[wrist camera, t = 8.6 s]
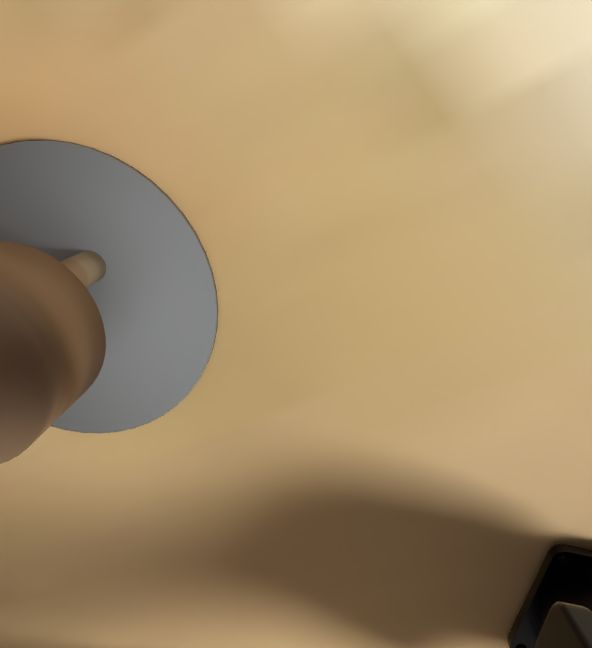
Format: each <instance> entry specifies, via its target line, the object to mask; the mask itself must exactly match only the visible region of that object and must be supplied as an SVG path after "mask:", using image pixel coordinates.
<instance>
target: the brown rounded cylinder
mask: <svg viewBox="0 0 592 648" xmlns="http://www.w3.org/2000/svg"><path fill="white" fill-rule="evenodd" d="M105 273H106V264H105V262H104V260H103V258H102V257H101V256H100V255H99V254H97V253H96V252H93V251H83V252H81V253H79V254H76V255H74V256H72V257H70V258H67V259H65V260H63V261H60V262H59V261H58V260H56V259H55V258H54V257H52V256H50V255H48V254H46V253H45V252H43V251H41V250H38V249H36V248H33V247H31V246H28V245H24V244H20V243H16V242H8V241H0V464H1V463H3V462H6V461H9V460H11V459H13V458H14V457H16V456H18V455H19V454H21V453H22V452H23V451H25V450H26V449H27V448H28V447H29V446H30V445H31V444H32V443H33V442H34V441H35V440H36V439H37V438H38V437H39V436H40V435H41V434H42V433H43V432H45V431H46V430H47V429H48V428H49V427H50V426H51V425H52V424H53V423H54V422H55V421H56V420H57V419H58V418H59V417H60V416H61V415H62V414H63V413H64V412H65V411H66V410H67V409H68V408H69V407H70V406H71V405H72V404H73V403H74V402H75V401H76V400H77V399H78V398H79V397H81V396H82V395H83V394H84V393H85V392H86V391H87V390H88V389H89V387H90V386H91V385H92V384H93V383H94V381H95V380H96V378H97V377H98V375H99V373H100V371H101V368H102V366H103V362H104V358H105V351H106V335H105V330H104V324H103V321H102V318H101V314H100V312H99V310H98V307H97V305H96V303H95V301H94V299H93V298H92V296H91V294H90V293H89V291H88V290H87V287H88V286H90V285H92V284H93V283H95V282H97V281H99V280H100V279H102V278H103V277H104V275H105Z"/></svg>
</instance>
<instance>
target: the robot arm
mask: <svg viewBox="0 0 592 648" xmlns="http://www.w3.org/2000/svg"><path fill="white" fill-rule="evenodd" d="M562 556H564V557H562ZM560 557H562V558H560ZM508 643H509V647H510V648H592V550H587V549H582V548H577V547H573V546H568V545H556V546H554V547H552V548H551V549H550V550H549V552H548V554H547V556H546V558H545V560H544V562H543V564H542V566H541V569H540V571H539V573H538V575H537V577H536V579H535V581H534V583H533V586H532V588H531V590H530V592H529V594H528V596H527V598H526V600H525V602H524V605H523V607H522V609H521V611H520V613H519V615H518V617H517V619H516V622H515V624H514V626H513V628H512V630H511V632H510V634H509V636H508Z"/></svg>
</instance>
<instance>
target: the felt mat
mask: <svg viewBox="0 0 592 648" xmlns="http://www.w3.org/2000/svg"><path fill="white" fill-rule="evenodd" d="M0 241H8V242H16V243H20V244H24V245H28V246H31V247H33V248H36V249H38V250H41V251H43V252H45V253H46V254H48V255H50V256H52V257H54V258H55V259H56V260H58V261H59V262H60V261H63V260H65V259H67V258H70V257H72V256H74V255H76V254H79V253H81V252H83V251H93V252H96V253H97V254H99V255H100V256H101V257H102V258H103V260H104V262H105V264H106V273H105V275H104V277H103V278H102V279H100V280H99V281H97V282H95V283H93V284H92V285H90V286H88V287H87V290H88V291H89V293H90V294H91V296H92V298H93V299H94V301H95V303H96V305H97V307H98V310H99V312H100V314H101V318H102V321H103V324H104V330H105V335H106V351H105V358H104V362H103V366H102V368H101V371H100V373H99V375H98V377H97V378H96V380H95V381H94V383H93V384H92V385H91V386H90V387H89V389H88V390H87V391H86V392H85V393H84V394H83V395H82V396H81V397H79V398H78V399H77V400H76V401H75V402H74V403H73V404H72V405H71V406H70V407H69V408H68V409H67V410H66V411H65V412H64V413H63V414H62V415H61V416H60V417H59V418H58V419H57V420H56V421H55V422H54V423H53V424H52V425H51V426H52V427H56V428H60V429H64V430H69V431H75V432H82V433H110V432H119V431H124V430H128V429H133V428H136V427H139V426H141V425H144V424H147V423H149V422H151V421H153V420H155V419H157V418H159V417H161V416H163V415H164V414H166V413H167V412H168V411H170V410H171V409H172V408H174V407H175V406H176V405H177V404H178V403H179V402H180V401H181V400H182V399H184V398H185V397H186V396H187V395H188V393H189V392H190V391H191V389H192V388H193V387H194V385H195V384H196V383H197V381H198V380H199V378H200V376H201V374H202V372H203V371H204V369H205V367H206V365H207V363H208V361H209V358H210V355H211V352H212V349H213V347H214V342H215V337H216V332H217V322H218V302H217V291H216V286H215V281H214V277H213V272H212V269H211V266H210V263H209V261H208V258H207V255H206V252H205V250H204V248H203V246H202V244H201V242H200V240H199V238H198V236H197V234H196V232H195V231H194V229H193V228H192V226H191V225H190V223H189V221H188V220H187V218H186V217H185V215H184V214H183V213H182V212H181V210H180V209H179V208H178V207H177V206H176V204H175V203H174V202H173V201H172V200H171V199H170V197H169V196H168V195H167V194H165V193H164V192H163V191H162V190H161V189H160V188H159V187H158V186H157V185H156V184H155V183H154V182H153V181H151V180H150V179H149V178H147V177H146V176H144V175H143V174H142V173H140V172H139V171H138V170H136V169H135V168H133V167H132V166H130V165H128V164H126V163H124V162H123V161H121V160H119V159H117V158H116V157H114V156H111V155H109V154H106V153H104V152H101V151H99V150H96V149H94V148H90V147H86V146H83V145H79V144H75V143H69V142H61V141H52V140H44V141H21V142H16V143H10V144H5V145H2V146H0Z"/></svg>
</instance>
